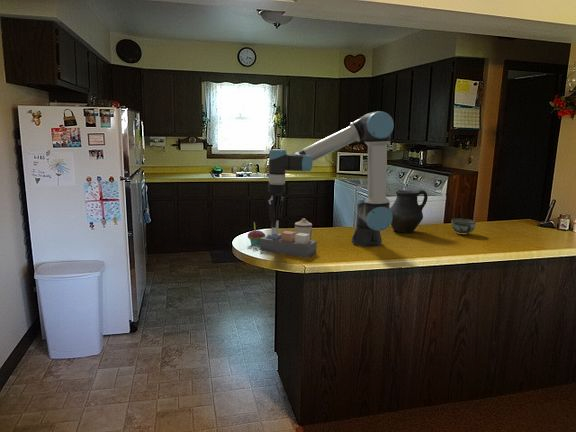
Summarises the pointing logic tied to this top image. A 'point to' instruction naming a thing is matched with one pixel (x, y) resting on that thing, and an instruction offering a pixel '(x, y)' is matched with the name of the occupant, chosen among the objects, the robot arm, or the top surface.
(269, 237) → the blue cube
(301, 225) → the teacup with lid
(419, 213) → the pitcher
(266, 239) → the tray
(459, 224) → the bowl
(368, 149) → the robot arm
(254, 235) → the cupcake
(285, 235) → the orange cube
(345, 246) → the top surface
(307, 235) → the key ivory
